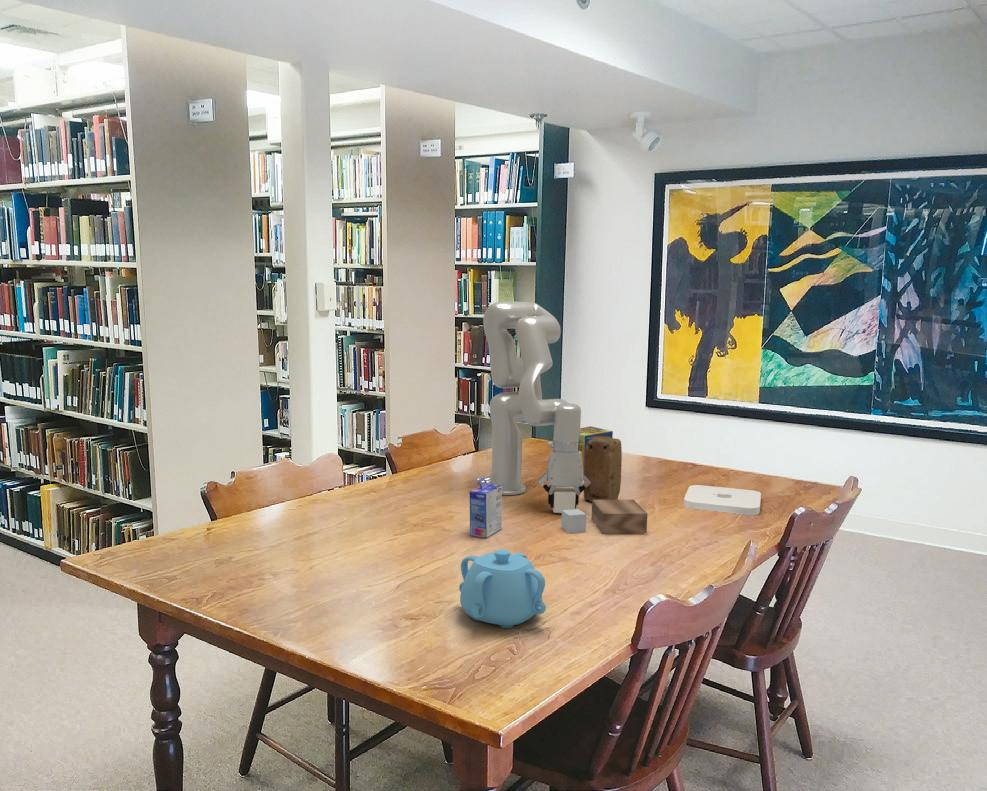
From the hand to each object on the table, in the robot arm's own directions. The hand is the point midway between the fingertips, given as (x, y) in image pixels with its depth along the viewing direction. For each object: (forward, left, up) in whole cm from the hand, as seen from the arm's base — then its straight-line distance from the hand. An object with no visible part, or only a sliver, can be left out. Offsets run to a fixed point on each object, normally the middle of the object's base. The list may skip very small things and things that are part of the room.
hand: (563, 506), depth 239 cm
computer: (+51, +10, -2) cm, 52 cm away
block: (+13, +11, -2) cm, 18 cm away
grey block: (0, -17, -2) cm, 17 cm away
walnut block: (+13, -14, -2) cm, 19 cm away
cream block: (0, 0, -1) cm, 1 cm away
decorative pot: (-24, -74, -2) cm, 77 cm away
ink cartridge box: (-24, -19, -2) cm, 30 cm away
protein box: (+15, +47, -2) cm, 50 cm away
